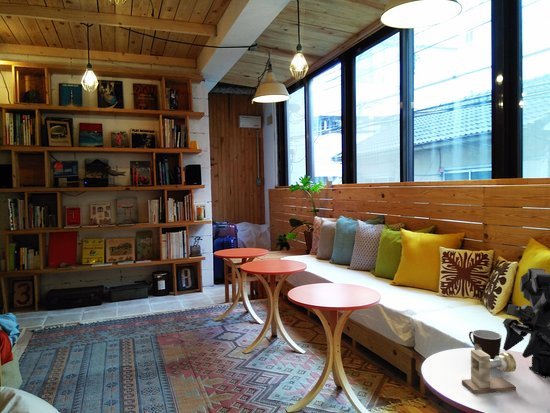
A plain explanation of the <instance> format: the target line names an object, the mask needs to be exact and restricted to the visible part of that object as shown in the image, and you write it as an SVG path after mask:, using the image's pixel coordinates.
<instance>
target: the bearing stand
mask: <svg viewBox="0 0 550 413" xmlns="http://www.w3.org/2000/svg"><path fill="white" fill-rule="evenodd" d="M461 384H462V385H463V386H464V387H465V388H466V389H467V390H469V391H470V392H471V393H472V394H473V395H478V394H491V393H505V392H517V386H516V385H514V384H513V383H511V382H510V381H508V380H507V379H506V378H504V377H503V376H497V377H491V368H490V355H488V354H487V353H485V352H483V351H482V350H475V349H471V350H470V379H461Z"/></svg>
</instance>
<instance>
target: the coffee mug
mask: <svg viewBox="0 0 550 413" xmlns="http://www.w3.org/2000/svg"><path fill="white" fill-rule="evenodd" d="M468 337H469V339H470V343H471V344H472V345H473V347H474V350H482V351H483V352H485V353H487V354H488V355H490V360H491V359H494V358H495V356H499V354H501V353H500V352H501V344H502V334H500V333H499V332H496V331H493V330H488V329H475V330H472V331H469V333H468ZM492 369H496V367H493V368H492Z"/></svg>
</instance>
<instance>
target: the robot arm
mask: <svg viewBox="0 0 550 413" xmlns="http://www.w3.org/2000/svg"><path fill="white" fill-rule="evenodd" d="M519 291H520V292H521V293H522V296H523V298H524V299H525V300H526V301H528V302H529V304H523V305H522V306H520V305H517V304H508V306H507V310H506V313H505V314H506V315H507V316H511V317H507V318H505V319H504V320H503V321H502V324H503V327H504V328H505V330H506V336H505V340H504V344H503V347H502V349H503V350H504V351H505V352H507V351H509V350H510V349H512V348H514V347H515V346H516V345H518V344H519V343H521V342H522V341H524V340H525V337H527V335H529V334H530V335H529V340H528V343H527V345H526V347H525V349H524V350H523V352H522V355H521V356H522V357H523V358H525V359H527V358H529V357H531V366H528V369H529V370H531V371H533V372H534V373H536V374H537V375H539V376H541V377H543V378H550V274H549V273H548V272H546V270H545V269H544V268H539V267H538V268H534V267H530V268H527V272H526V273H524V274H523V275H522V276H521V277H520V281H519ZM512 317H514V318H512ZM515 318H517V319H515Z"/></svg>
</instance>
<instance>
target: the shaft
mask: <svg viewBox="0 0 550 413" xmlns="http://www.w3.org/2000/svg"><path fill="white" fill-rule="evenodd" d="M493 367H495V368H497V369H498V370H499V371H503V372H505V373H512V372H515V371H516V369H517V362H516V359H515V358H514V356H513V355H512V354H511V353H509V352H503V353H502V352H501V353H499V356H495V358H494V359H491V360H490V369H494V368H493Z"/></svg>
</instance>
